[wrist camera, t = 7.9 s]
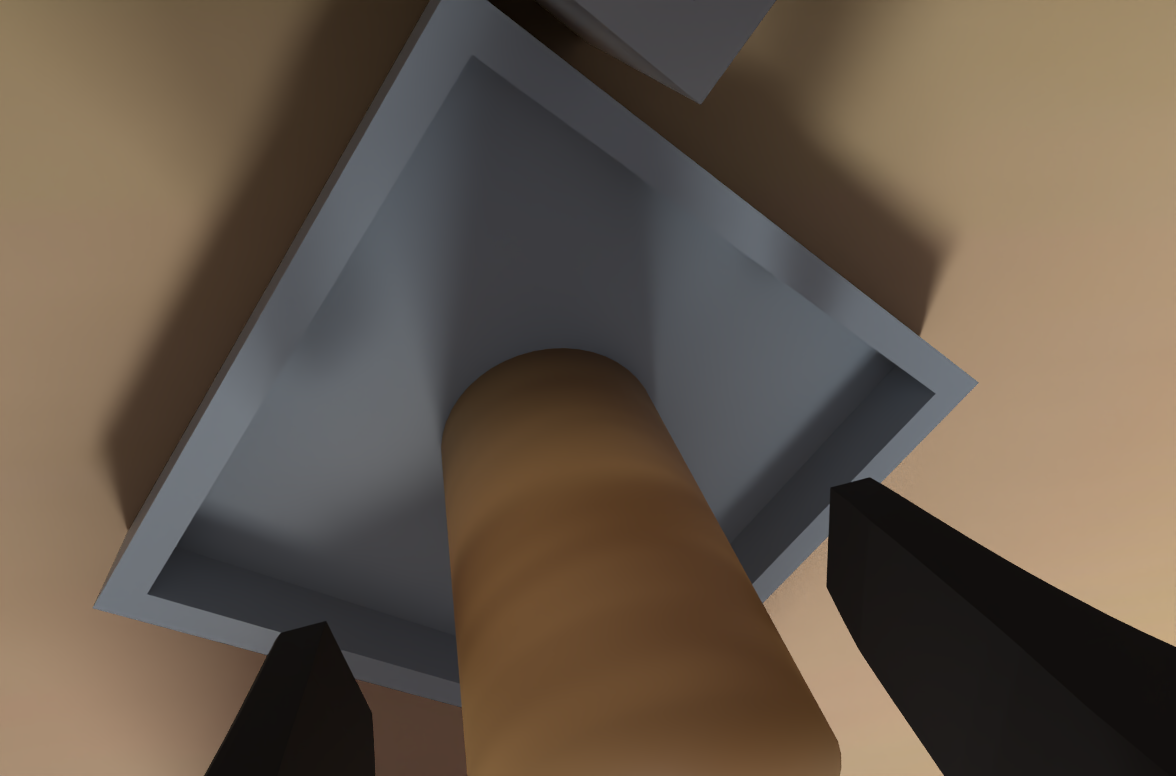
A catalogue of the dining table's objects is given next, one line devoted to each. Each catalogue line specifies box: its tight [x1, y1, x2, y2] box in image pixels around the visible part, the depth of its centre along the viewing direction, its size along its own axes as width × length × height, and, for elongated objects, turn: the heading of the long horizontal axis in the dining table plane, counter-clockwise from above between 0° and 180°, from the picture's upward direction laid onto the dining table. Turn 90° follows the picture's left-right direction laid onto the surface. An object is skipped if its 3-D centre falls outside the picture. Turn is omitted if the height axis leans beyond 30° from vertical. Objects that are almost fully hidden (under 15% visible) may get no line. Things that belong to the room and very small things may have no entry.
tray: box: [93, 0, 978, 707], centre depth 14 cm, size 11×11×2 cm
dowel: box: [441, 348, 841, 776], centre depth 11 cm, size 4×4×7 cm
